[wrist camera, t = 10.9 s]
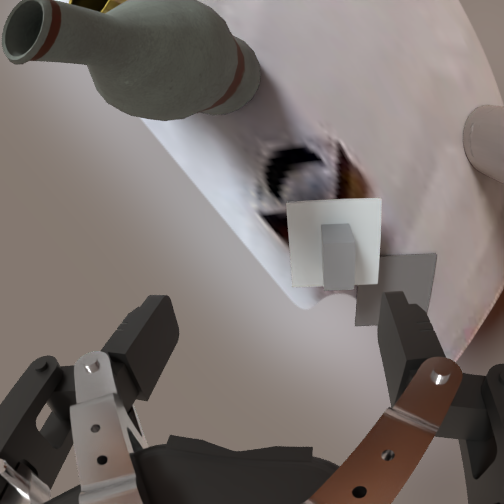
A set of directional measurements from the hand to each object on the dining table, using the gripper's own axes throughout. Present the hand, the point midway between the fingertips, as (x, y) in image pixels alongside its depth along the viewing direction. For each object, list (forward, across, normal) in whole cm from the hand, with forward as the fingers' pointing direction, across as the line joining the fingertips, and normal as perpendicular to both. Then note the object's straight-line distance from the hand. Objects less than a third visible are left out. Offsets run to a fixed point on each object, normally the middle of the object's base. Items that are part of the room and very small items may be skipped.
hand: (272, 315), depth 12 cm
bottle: (+28, +7, -12) cm, 32 cm away
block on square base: (+23, -4, +7) cm, 25 cm away
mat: (+28, -13, +17) cm, 35 cm away
